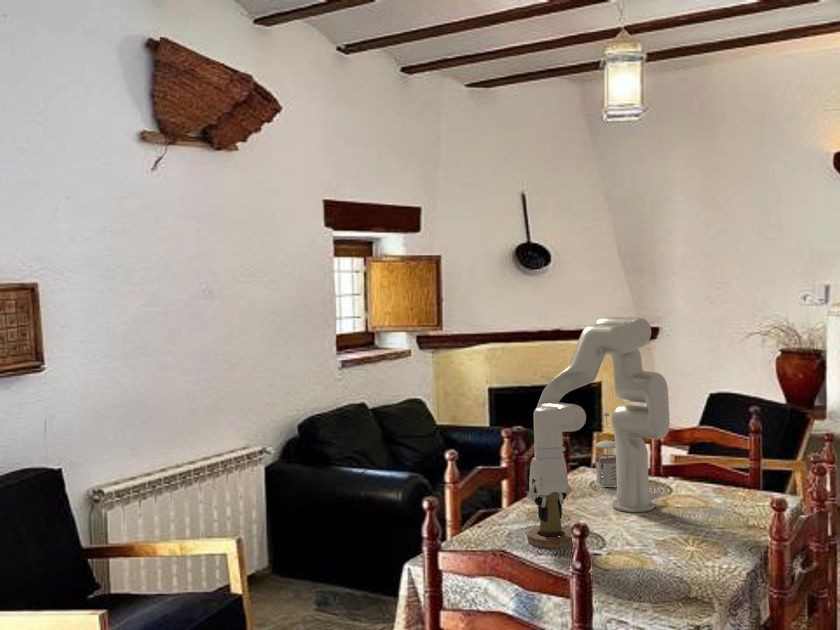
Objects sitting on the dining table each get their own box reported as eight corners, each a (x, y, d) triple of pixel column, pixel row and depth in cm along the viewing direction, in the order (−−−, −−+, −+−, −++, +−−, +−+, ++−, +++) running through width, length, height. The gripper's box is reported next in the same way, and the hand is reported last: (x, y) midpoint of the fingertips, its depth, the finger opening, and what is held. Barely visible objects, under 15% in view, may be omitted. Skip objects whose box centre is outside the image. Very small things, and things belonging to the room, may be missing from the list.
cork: (561, 532, 221) (560, 491, 221) (539, 531, 222) (537, 491, 222) (562, 525, 227) (561, 486, 227) (540, 525, 228) (539, 485, 228)
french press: (628, 483, 283) (626, 411, 282) (610, 490, 275) (608, 416, 274) (603, 479, 290) (601, 409, 289) (585, 486, 281) (583, 414, 280)
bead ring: (556, 530, 233) (556, 523, 233) (584, 542, 222) (583, 535, 222) (519, 538, 228) (518, 531, 228) (545, 550, 216) (545, 543, 216)
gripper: (565, 446, 231) (567, 511, 232) (515, 454, 223) (517, 520, 224) (581, 451, 224) (583, 517, 225) (530, 458, 217) (532, 527, 217)
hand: (550, 518), depth 224 cm, fingers closed on cork, 4 cm apart
